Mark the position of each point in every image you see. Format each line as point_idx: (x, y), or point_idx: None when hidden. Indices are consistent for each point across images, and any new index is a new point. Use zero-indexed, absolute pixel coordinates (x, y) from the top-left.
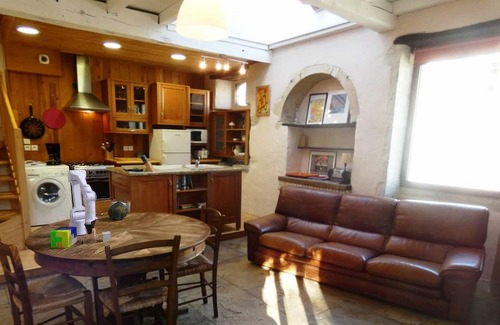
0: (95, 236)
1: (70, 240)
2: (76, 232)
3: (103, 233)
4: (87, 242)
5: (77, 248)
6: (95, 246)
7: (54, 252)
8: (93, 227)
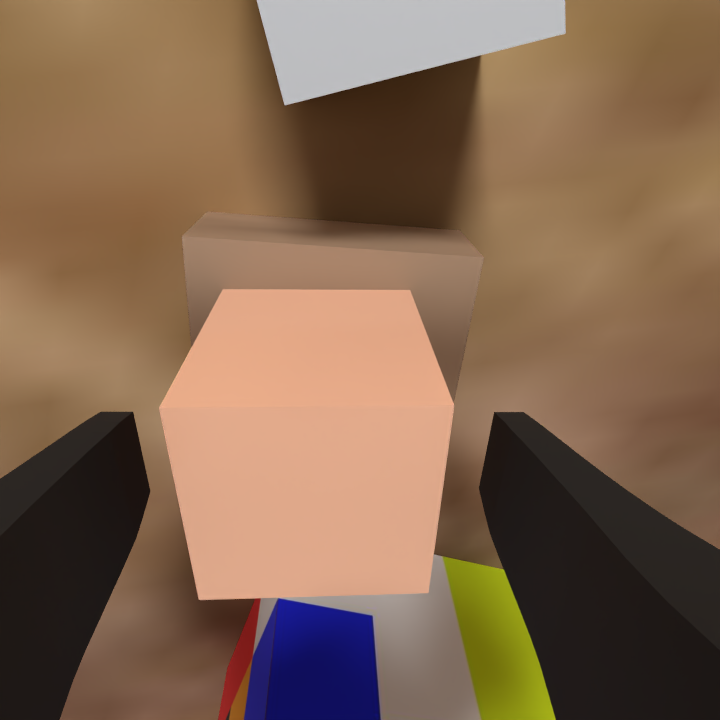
0: (279, 283)
1: (474, 640)
2: (278, 697)
3: (443, 23)
4: None
5: (619, 470)
6: (706, 209)
7: None
8: (83, 481)
